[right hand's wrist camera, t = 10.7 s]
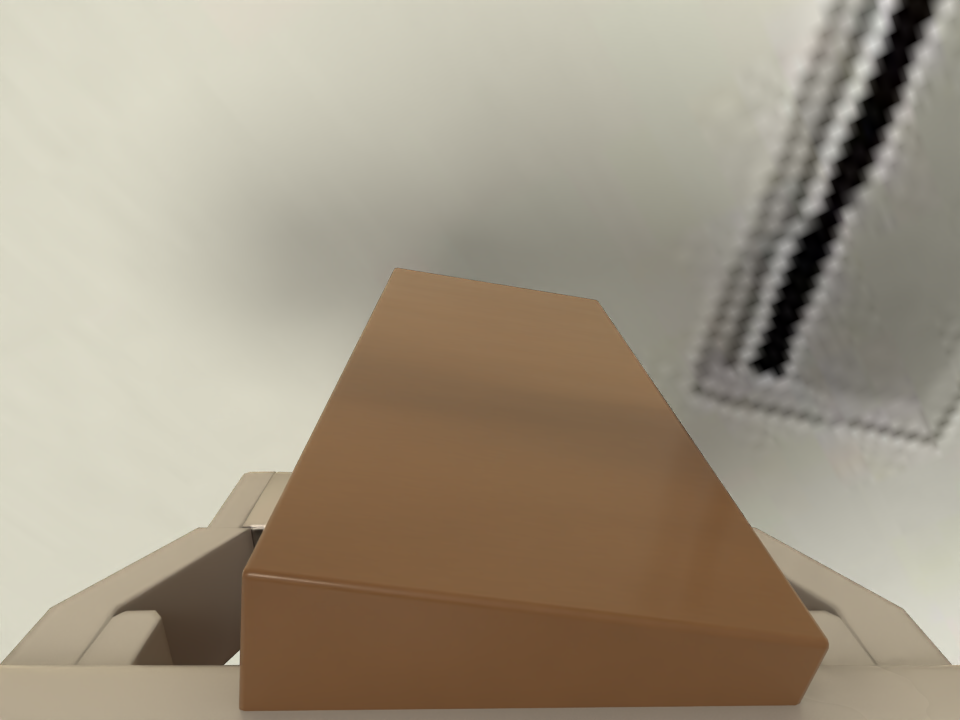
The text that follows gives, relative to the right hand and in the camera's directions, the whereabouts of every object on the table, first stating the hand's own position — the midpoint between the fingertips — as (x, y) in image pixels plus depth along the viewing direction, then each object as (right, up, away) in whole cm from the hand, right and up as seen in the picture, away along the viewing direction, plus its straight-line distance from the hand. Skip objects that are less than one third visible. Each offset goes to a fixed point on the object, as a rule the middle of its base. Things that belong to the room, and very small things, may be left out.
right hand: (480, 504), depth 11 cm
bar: (-2, -8, +8) cm, 12 cm away
